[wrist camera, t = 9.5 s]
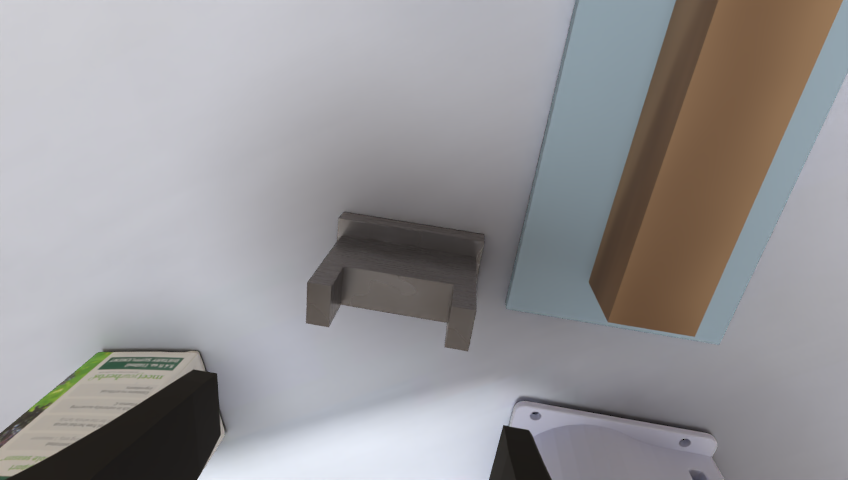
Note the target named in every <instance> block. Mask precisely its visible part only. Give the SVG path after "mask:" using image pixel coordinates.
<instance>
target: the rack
mask: <svg viewBox="0 0 848 480" xmlns="http://www.w3.org/2000/svg"><path fill="white" fill-rule="evenodd" d="M483 246H484V234H478V233H472V232H466V231H459V230H453V229H447V228H441V227H435V226H428V225H422V224H416V223H410V222H403V221H397V220H391V219H385V218H379V217H372V216H366V215H360V214H354V213H348V212H343V213H342V214H341V216H340V217H339V218H338V233H337V243H336V244H335V245H334V247H333V248H332V249H331V251H330V252H329V254H328V255H327V256H326V258H325V259H324V260H323V262H322V263H321V264H320V266H319V267H318V269H317V270H316V271H315V273H314V274H313V275H312V277H311V278H310V280H309V281H308V282H307V312H306V323H308V324H314V325H320V326H326V327H329V326H330V324H331V322H332V320H333V319H334V317H335V315H336V313H337V311H338V309H339V307H340V305H347V306H352V307H358V308H364V309H370V310H376V311H382V312H388V313H393V314H399V315H405V316H411V317H417V318H423V319H429V320H434V321H440V322H446V323H447V329H446V338H445V347H447V348H452V349H458V350H464V351H468V349H469V344H470V339H471V334H472V329H473V324H474V320H475V315H476V282H477V277H478V272H479V266H480V261H481V256H482V251H483Z"/></svg>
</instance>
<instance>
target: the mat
mask: <svg viewBox="0 0 848 480" xmlns="http://www.w3.org/2000/svg"><path fill="white" fill-rule="evenodd" d="M675 2H676V0H576V2H575V6H574V10H573V14H572V19H571V23H570V27H569V32H568V36H567V40H566V44H565V49H564V53H563V57H562V62H561V66H560V70H559V75H558V79H557V83H556V87H555V92H554V96H553V100H552V105H551V109H550V113H549V117H548V122H547V126H546V130H545V135H544V139H543V143H542V148H541V152H540V156H539V160H538V165H537V169H536V173H535V178H534V182H533V186H532V190H531V195H530V199H529V203H528V208H527V212H526V216H525V220H524V225H523V229H522V233H521V238H520V242H519V246H518V251H517V255H516V259H515V263H514V268H513V272H512V276H511V281H510V285H509V289H508V293H507V298H506V309H509V310H515V311H521V312H527V313H533V314H539V315H545V316H551V317H557V318H562V319H568V320H574V321H580V322H586V323H592V324H598V325H604V326H610V327H616V328H622V329H628V330H634V331H640V332H646V333H652V334H658V335H663V336H669V337H675V338H681V339H687V340H693V341H699V342H705V343H711V344H717V345H719V344H720V342H721V340H722V338H723V336H724V334H725V332H726V330H727V327H728V325H729V323H730V321H731V319H732V317H733V315H734V313H735V310H736V308H737V306H738V304H739V302H740V300H741V298H742V296H743V293H744V291H745V289H746V287H747V285H748V283H749V281H750V279H751V276H752V274H753V272H754V270H755V268H756V266H757V264H758V262H759V259H760V257H761V255H762V253H763V251H764V249H765V247H766V245H767V242H768V240H769V238H770V236H771V234H772V232H773V230H774V228H775V225H776V223H777V221H778V219H779V217H780V215H781V213H782V211H783V208H784V206H785V204H786V202H787V200H788V198H789V196H790V194H791V191H792V189H793V187H794V185H795V183H796V181H797V179H798V177H799V174H800V172H801V170H802V168H803V166H804V164H805V162H806V160H807V157H808V155H809V153H810V151H811V149H812V147H813V145H814V143H815V140H816V138H817V136H818V134H819V132H820V130H821V128H822V126H823V123H824V121H825V119H826V117H827V115H828V113H829V111H830V109H831V106H832V104H833V102H834V100H835V98H836V96H837V94H838V92H839V89H840V87H841V85H842V83H843V81H844V79H845V77H846V75H847V72H848V0H843V2H842V4H841V6H840V9H839V11H838V13H837V15H836V18H835V20H834V22H833V24H832V27H831V29H830V31H829V33H828V36H827V38H826V40H825V43H824V45H823V47H822V49H821V52H820V54H819V56H818V58H817V61H816V63H815V65H814V68H813V70H812V72H811V74H810V77H809V79H808V81H807V83H806V86H805V88H804V90H803V92H802V95H801V97H800V99H799V102H798V104H797V106H796V108H795V111H794V113H793V115H792V117H791V120H790V122H789V124H788V127H787V129H786V131H785V133H784V136H783V138H782V140H781V142H780V145H779V147H778V149H777V151H776V154H775V156H774V158H773V161H772V163H771V165H770V167H769V170H768V172H767V174H766V176H765V179H764V181H763V183H762V186H761V188H760V190H759V192H758V195H757V197H756V199H755V201H754V204H753V206H752V208H751V210H750V213H749V215H748V217H747V220H746V222H745V224H744V226H743V229H742V231H741V233H740V235H739V238H738V240H737V242H736V245H735V247H734V249H733V251H732V254H731V256H730V258H729V260H728V263H727V265H726V267H725V269H724V272H723V274H722V276H721V279H720V281H719V283H718V285H717V288H716V290H715V292H714V294H713V297H712V299H711V301H710V303H709V306H708V308H707V310H706V313H705V315H704V317H703V319H702V322H701V324H700V326H699V328H698V331H697V333H696V335H695V337H692V336H686V335H680V334H674V333H669V332H663V331H657V330H651V329H645V328H639V327H633V326H627V325H621V324H615V323H609V322H607V320H606V318H605V316H604V313H603V311H602V309H601V307H600V305H599V303H598V301H597V299H596V297H595V295H594V293H593V291H592V288H591V286H590V284H589V279H590V276H591V272H592V269H593V266H594V263H595V259H596V256H597V253H598V250H599V247H600V243H601V240H602V237H603V234H604V231H605V227H606V224H607V221H608V218H609V214H610V211H611V208H612V205H613V202H614V198H615V195H616V192H617V189H618V185H619V182H620V179H621V176H622V173H623V169H624V166H625V163H626V160H627V157H628V153H629V150H630V147H631V144H632V140H633V137H634V134H635V131H636V128H637V124H638V121H639V118H640V115H641V111H642V108H643V105H644V102H645V99H646V95H647V92H648V89H649V86H650V83H651V79H652V76H653V73H654V70H655V66H656V63H657V60H658V57H659V54H660V50H661V47H662V44H663V41H664V37H665V34H666V31H667V28H668V25H669V21H670V18H671V15H672V12H673V9H674V5H675Z"/></svg>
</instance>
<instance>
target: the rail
mask: <svg viewBox="0 0 848 480" xmlns="http://www.w3.org/2000/svg"><path fill="white" fill-rule="evenodd" d="M842 2H843V0H676V2H675V5H674V9H673V12H672V15H671V18H670V21H669V25H668V28H667V31H666V34H665V37H664V41H663V44H662V47H661V50H660V54H659V57H658V60H657V63H656V66H655V70H654V73H653V76H652V79H651V83H650V86H649V89H648V92H647V95H646V99H645V102H644V105H643V108H642V111H641V115H640V118H639V121H638V124H637V128H636V131H635V134H634V137H633V140H632V144H631V147H630V150H629V153H628V157H627V160H626V163H625V166H624V169H623V173H622V176H621V179H620V182H619V185H618V189H617V192H616V195H615V198H614V202H613V205H612V208H611V211H610V214H609V218H608V221H607V224H606V227H605V231H604V234H603V237H602V240H601V243H600V247H599V250H598V253H597V256H596V259H595V263H594V266H593V269H592V272H591V276H590V279H589V284H590V286H591V288H592V291H593V293H594V295H595V297H596V299H597V301H598V303H599V305H600V307H601V309H602V311H603V313H604V316H605V318H606V320H607V322H609V323H615V324H621V325H627V326H633V327H639V328H645V329H651V330H657V331H663V332H669V333H674V334H680V335H686V336H692V337H695V335H696V333H697V331H698V328H699V326H700V324H701V322H702V319H703V317H704V315H705V313H706V310H707V308H708V306H709V303H710V301H711V299H712V297H713V294H714V292H715V290H716V288H717V285H718V283H719V281H720V279H721V276H722V274H723V272H724V269H725V267H726V265H727V263H728V260H729V258H730V256H731V254H732V251H733V249H734V247H735V245H736V242H737V240H738V238H739V235H740V233H741V231H742V229H743V226H744V224H745V222H746V220H747V217H748V215H749V213H750V210H751V208H752V206H753V204H754V201H755V199H756V197H757V195H758V192H759V190H760V188H761V186H762V183H763V181H764V179H765V176H766V174H767V172H768V170H769V167H770V165H771V163H772V161H773V158H774V156H775V154H776V151H777V149H778V147H779V145H780V142H781V140H782V138H783V136H784V133H785V131H786V129H787V127H788V124H789V122H790V120H791V117H792V115H793V113H794V111H795V108H796V106H797V104H798V102H799V99H800V97H801V95H802V92H803V90H804V88H805V86H806V83H807V81H808V79H809V77H810V74H811V72H812V70H813V68H814V65H815V63H816V61H817V58H818V56H819V54H820V52H821V49H822V47H823V45H824V43H825V40H826V38H827V36H828V33H829V31H830V29H831V27H832V24H833V22H834V20H835V18H836V15H837V13H838V11H839V9H840V6H841V4H842Z"/></svg>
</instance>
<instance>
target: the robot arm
mask: <svg viewBox="0 0 848 480" xmlns="http://www.w3.org/2000/svg"><path fill="white" fill-rule="evenodd" d="M533 412H538V414H531V413H533ZM220 435H221V428H220V413H219V397H218V382H217V373H211V372H206V371H200V370H194V369H193V370H192V371H190V372H188V373H187V374H185V375H184V376H182V377H180V378H179V379H177V380H176V381H174V382H172V383H171V384H169V385H168V386H166V387H165V388H163V389H162V390H160V391H158V392H157V393H155V394H154V395H152V396H151V397H149V398H147V399H146V400H144V401H143V402H141V403H140V404H138V405H136V406H135V407H133V408H132V409H130V410H128V411H127V412H125V413H123V414H122V415H120V416H119V417H117V418H115V419H114V420H112V421H111V422H109V423H107V424H106V425H104V426H102V427H101V428H99V429H97V430H95V431H94V432H92V433H90V434H88V435H87V436H85V437H83V438H81V439H80V440H78V441H76V442H75V443H73V444H71V445H69V446H68V447H66V448H64V449H62V450H61V451H59V452H57V453H55V454H54V455H52V456H50V457H48V458H46V459H44V460H43V461H41V462H39V463H37V464H35V465H33V466H31V467H29V468H27V469H25V470H23V471H21V472H19V473H17V474H15V475H13V476H11V477H9V478H7V479H5V480H197V479H198V477H199V476H200V474H201V472H202V470H203V469H204V467H205V465H206V463H207V461H208V459H209V457H210V455H211V453H212V451H213V449H214V447H215V445H216V443H217V441H218V439H219V437H220ZM682 439H685V440H682ZM717 446H718V444H717V442H716V440H715V438H714V437H713V436H712V435H711V434H708V433H703V432H698V431H692V430H687V429H681V428H675V427H670V426H664V425H658V424H653V423H647V422H642V421H636V420H630V419H625V418H619V417H613V416H608V415H602V414H597V413H591V412H585V411H580V410H574V409H568V408H563V407H557V406H552V405H546V404H540V403H535V402H529V401H521V402H518V403H517V404H515V406H514V409H513V413H512V416H511V420H510V424H509V426H504V425H503V429H502V433H501V437H500V440H499V444H498V448H497V452H496V456H495V459H494V463H493V467H492V471H491V475H490V478H489V480H725V479H724V478H723V476H722V474H721V472H720V471H719V469H718V467H717V465H716V464H715V462H714V460H713V459H712V456H713V455H714V453H715V451H716V449H717Z"/></svg>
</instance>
